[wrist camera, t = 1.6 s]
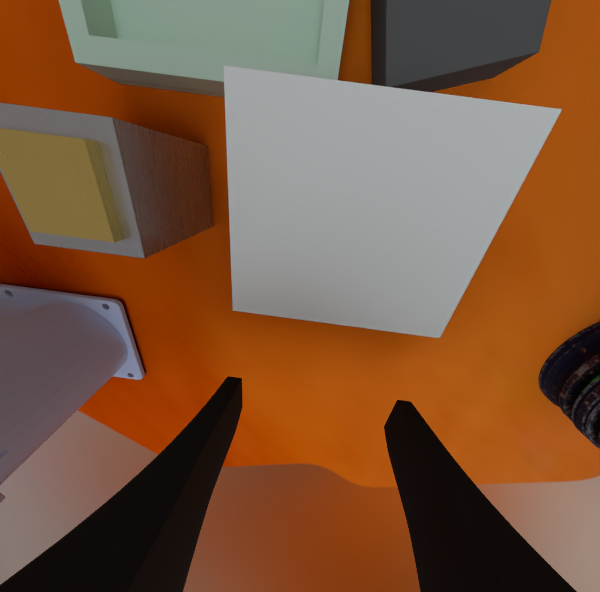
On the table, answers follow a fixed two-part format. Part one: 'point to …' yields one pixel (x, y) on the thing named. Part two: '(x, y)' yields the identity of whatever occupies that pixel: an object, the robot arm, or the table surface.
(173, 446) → the robot arm
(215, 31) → the tray
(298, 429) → the table surface
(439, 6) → the square block
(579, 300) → the table surface
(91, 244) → the block
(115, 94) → the table surface
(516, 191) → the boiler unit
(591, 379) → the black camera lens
